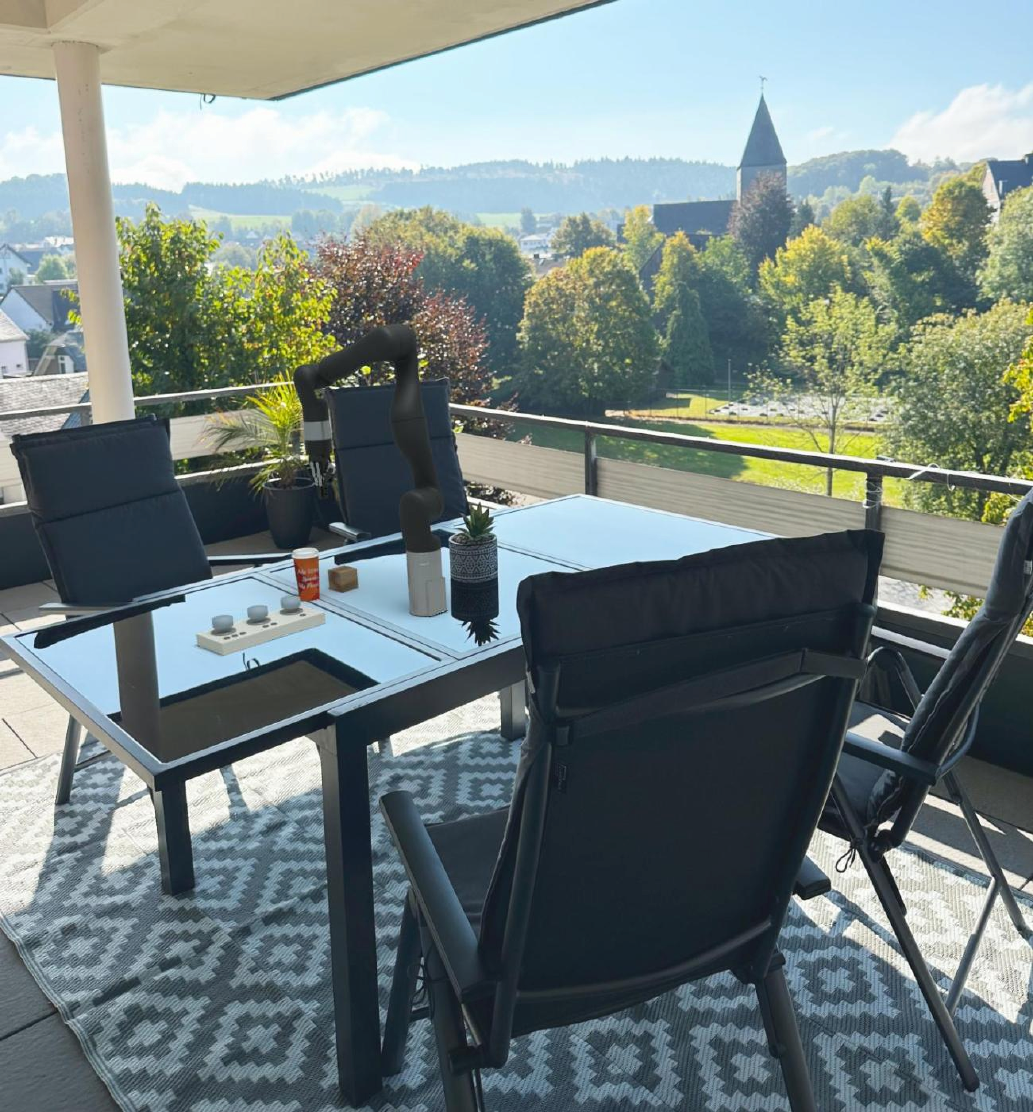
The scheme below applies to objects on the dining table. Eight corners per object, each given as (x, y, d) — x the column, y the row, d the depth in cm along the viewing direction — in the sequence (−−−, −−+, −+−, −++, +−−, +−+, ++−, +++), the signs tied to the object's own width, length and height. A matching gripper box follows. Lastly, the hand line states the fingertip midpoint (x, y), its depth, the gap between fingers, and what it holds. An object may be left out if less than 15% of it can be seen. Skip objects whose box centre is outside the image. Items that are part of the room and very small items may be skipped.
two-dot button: (272, 615, 254) (271, 607, 253) (255, 620, 250) (254, 612, 250) (260, 611, 257) (260, 604, 256) (243, 616, 253) (243, 608, 253)
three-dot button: (237, 625, 247) (236, 617, 246) (219, 630, 243) (218, 622, 243) (226, 621, 250) (225, 613, 249) (208, 626, 246) (207, 618, 246)
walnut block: (358, 588, 291) (357, 568, 290) (342, 593, 287) (340, 573, 285) (345, 584, 295) (344, 565, 294) (329, 589, 291) (327, 569, 289)
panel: (325, 623, 260) (324, 611, 259) (223, 655, 239) (222, 642, 238) (298, 614, 268) (297, 603, 267) (197, 645, 247) (195, 632, 246)
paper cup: (300, 604, 278) (295, 555, 274) (292, 597, 284) (288, 549, 281) (327, 599, 281) (323, 551, 277) (319, 592, 288) (315, 545, 284)
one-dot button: (304, 605, 261) (303, 598, 260) (288, 610, 257) (287, 602, 257) (293, 602, 264) (292, 594, 263) (277, 606, 260) (276, 599, 260)
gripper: (343, 436, 275) (348, 498, 279) (314, 433, 283) (319, 494, 288) (321, 440, 269) (327, 503, 274) (292, 437, 278) (298, 498, 282)
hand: (323, 498), depth 281 cm, fingers closed
